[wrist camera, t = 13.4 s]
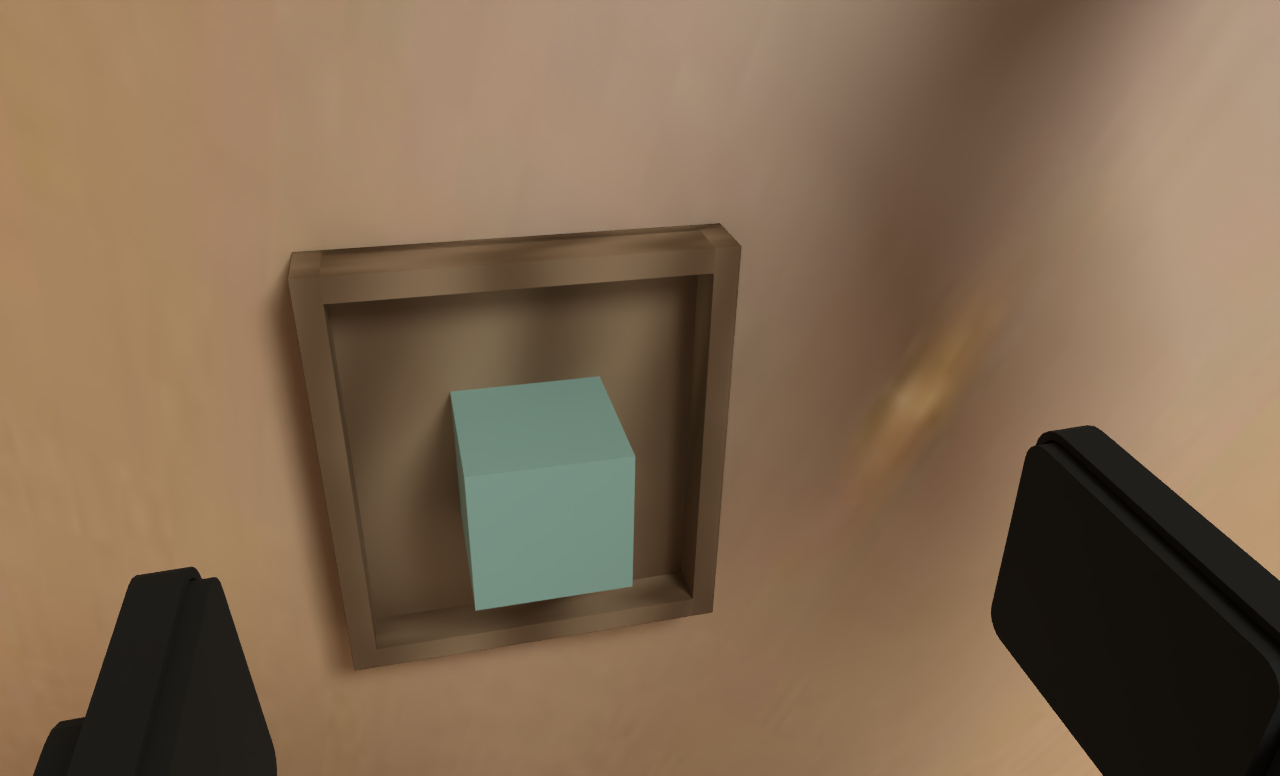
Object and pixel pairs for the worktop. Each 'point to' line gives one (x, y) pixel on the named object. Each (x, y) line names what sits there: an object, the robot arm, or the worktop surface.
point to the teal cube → (543, 491)
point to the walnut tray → (503, 356)
